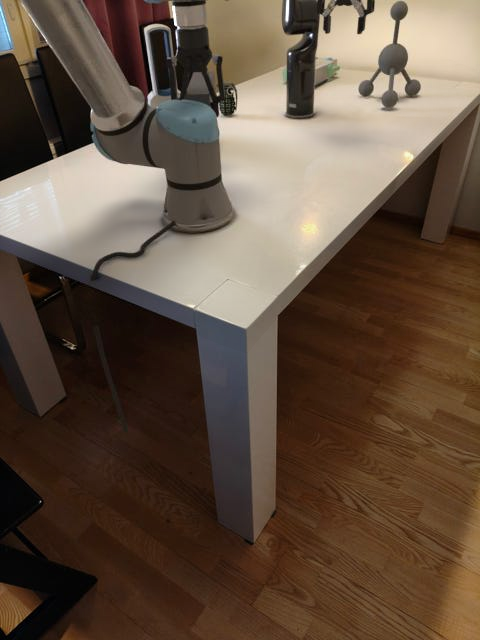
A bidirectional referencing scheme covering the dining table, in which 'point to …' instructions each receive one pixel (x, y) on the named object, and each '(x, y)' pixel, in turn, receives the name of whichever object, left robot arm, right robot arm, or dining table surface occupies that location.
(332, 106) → the dining table surface
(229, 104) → the grenade
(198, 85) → the box
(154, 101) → the electronic device
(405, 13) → the molecular model
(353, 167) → the dining table surface
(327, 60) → the grey device with connectors
